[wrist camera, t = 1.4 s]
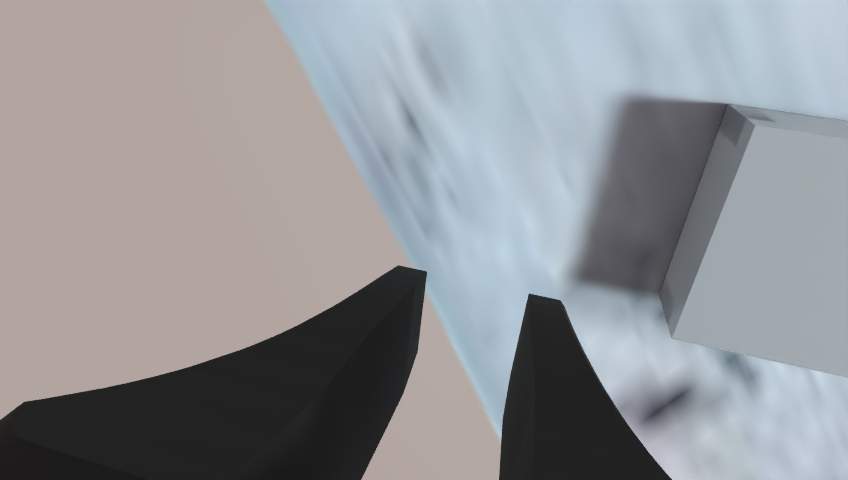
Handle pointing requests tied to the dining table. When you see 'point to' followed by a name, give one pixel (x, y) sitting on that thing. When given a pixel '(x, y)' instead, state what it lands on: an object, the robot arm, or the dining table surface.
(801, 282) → the grey slab
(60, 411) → the robot arm
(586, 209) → the dining table surface
